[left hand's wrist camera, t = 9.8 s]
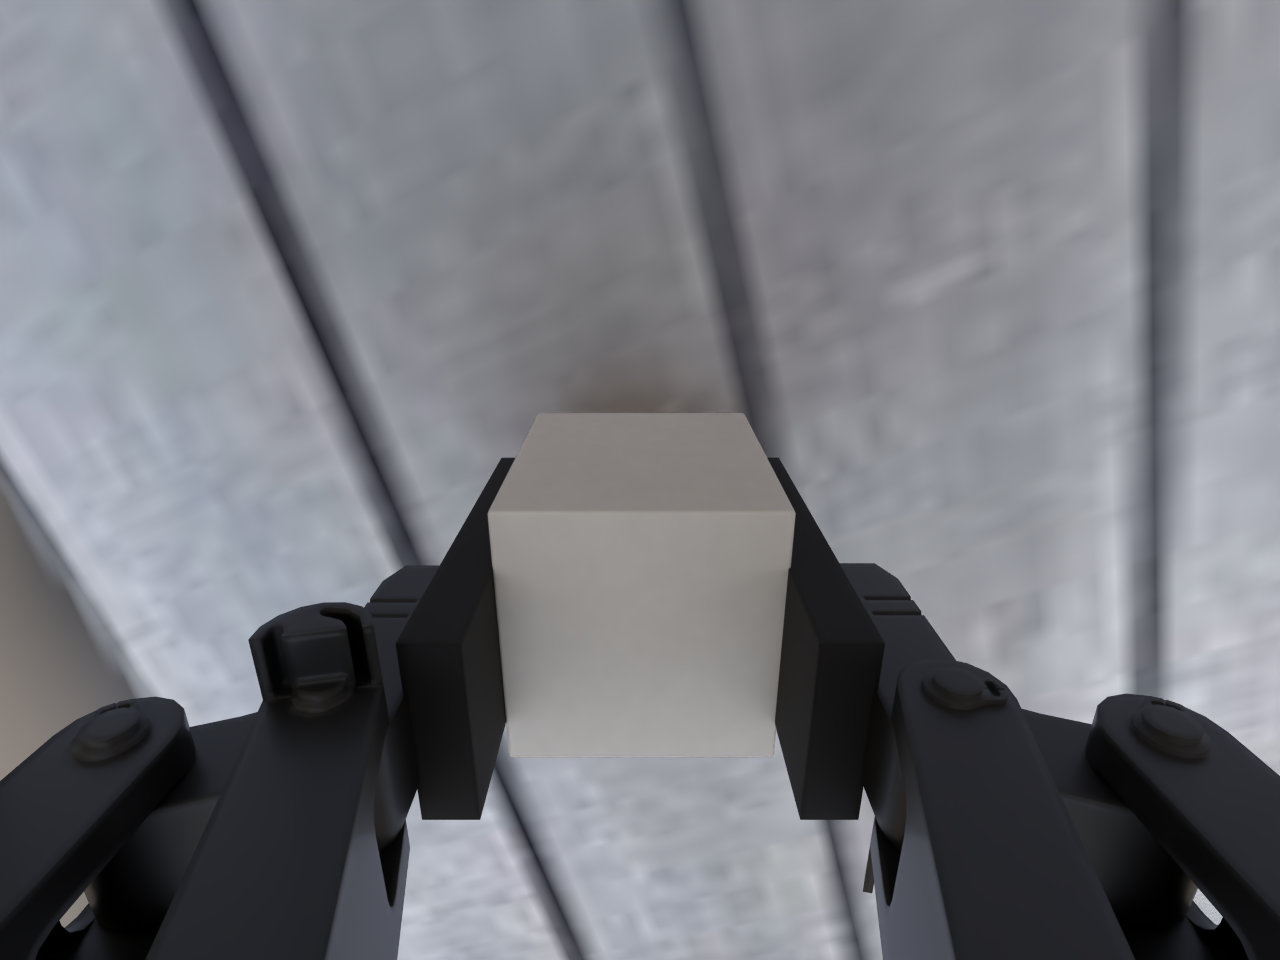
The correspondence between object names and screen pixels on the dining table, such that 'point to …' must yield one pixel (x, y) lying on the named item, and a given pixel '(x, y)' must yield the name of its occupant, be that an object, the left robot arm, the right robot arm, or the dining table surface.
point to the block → (641, 587)
